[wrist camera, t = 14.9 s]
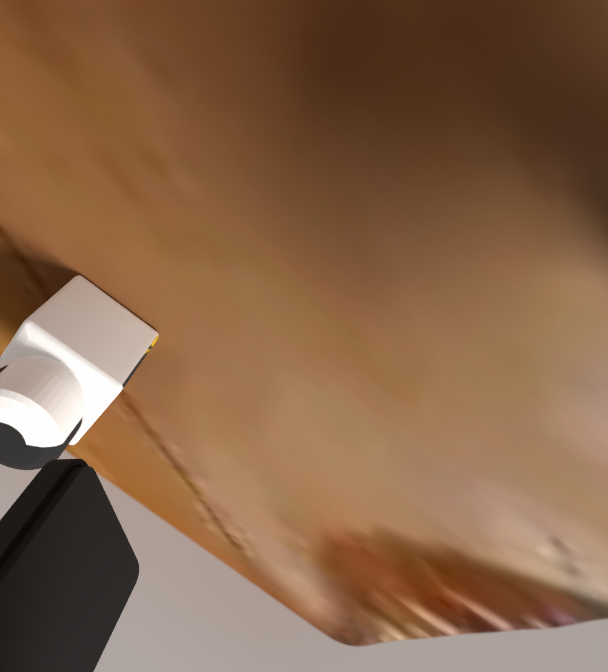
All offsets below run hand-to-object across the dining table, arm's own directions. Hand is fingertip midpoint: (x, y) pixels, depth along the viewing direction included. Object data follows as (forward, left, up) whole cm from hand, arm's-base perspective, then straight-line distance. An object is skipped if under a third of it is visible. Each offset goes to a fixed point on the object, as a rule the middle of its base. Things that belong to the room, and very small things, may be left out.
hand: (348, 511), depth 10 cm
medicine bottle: (+23, +9, -28) cm, 37 cm away
